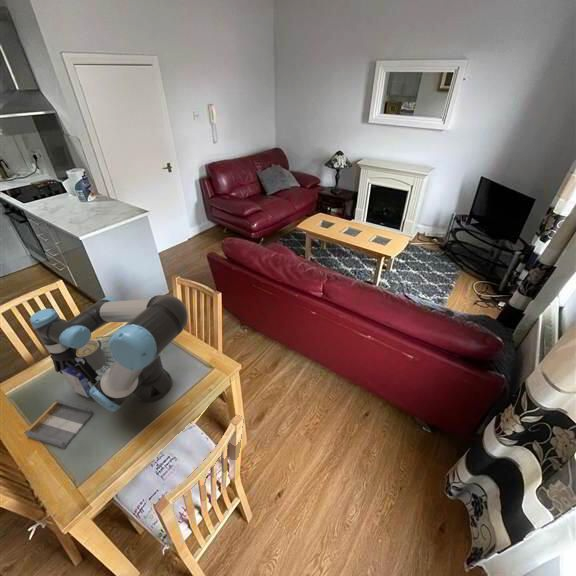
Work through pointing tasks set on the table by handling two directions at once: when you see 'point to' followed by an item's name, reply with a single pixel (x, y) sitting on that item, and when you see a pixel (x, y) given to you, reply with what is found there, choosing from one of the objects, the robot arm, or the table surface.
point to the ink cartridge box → (77, 381)
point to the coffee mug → (92, 354)
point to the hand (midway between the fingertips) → (84, 385)
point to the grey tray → (59, 423)
